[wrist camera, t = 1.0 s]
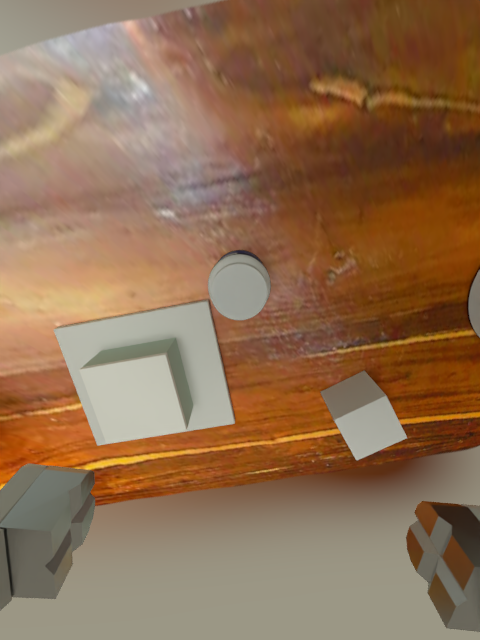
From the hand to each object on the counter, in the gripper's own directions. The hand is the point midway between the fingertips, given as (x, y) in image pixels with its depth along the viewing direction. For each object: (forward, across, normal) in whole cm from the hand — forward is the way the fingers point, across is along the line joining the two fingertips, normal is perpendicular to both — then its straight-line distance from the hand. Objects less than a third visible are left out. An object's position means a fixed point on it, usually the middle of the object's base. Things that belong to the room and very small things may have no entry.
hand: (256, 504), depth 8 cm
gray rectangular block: (+28, -16, +12) cm, 35 cm away
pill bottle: (+28, 0, -2) cm, 28 cm away
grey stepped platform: (+28, +10, +12) cm, 32 cm away
